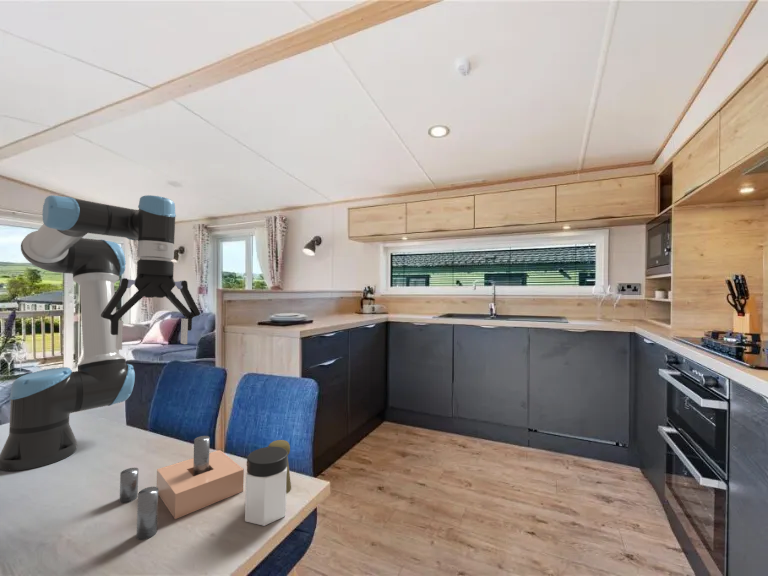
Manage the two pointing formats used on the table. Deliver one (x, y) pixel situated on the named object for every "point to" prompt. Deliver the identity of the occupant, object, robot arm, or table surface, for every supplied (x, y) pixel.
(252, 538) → the table surface
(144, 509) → the medium pin
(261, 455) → the jar
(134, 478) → the short pin
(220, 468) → the socket block
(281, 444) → the olive pawn
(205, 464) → the long pin
